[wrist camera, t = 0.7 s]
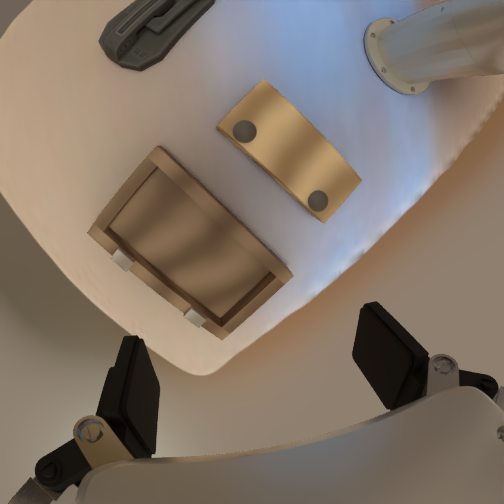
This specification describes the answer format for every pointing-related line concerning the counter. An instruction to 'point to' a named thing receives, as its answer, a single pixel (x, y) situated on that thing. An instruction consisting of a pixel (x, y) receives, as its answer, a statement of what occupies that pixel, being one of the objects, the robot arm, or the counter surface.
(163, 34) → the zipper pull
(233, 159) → the counter surface
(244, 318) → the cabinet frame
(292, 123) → the tan rectangular block
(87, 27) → the counter surface
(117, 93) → the counter surface
